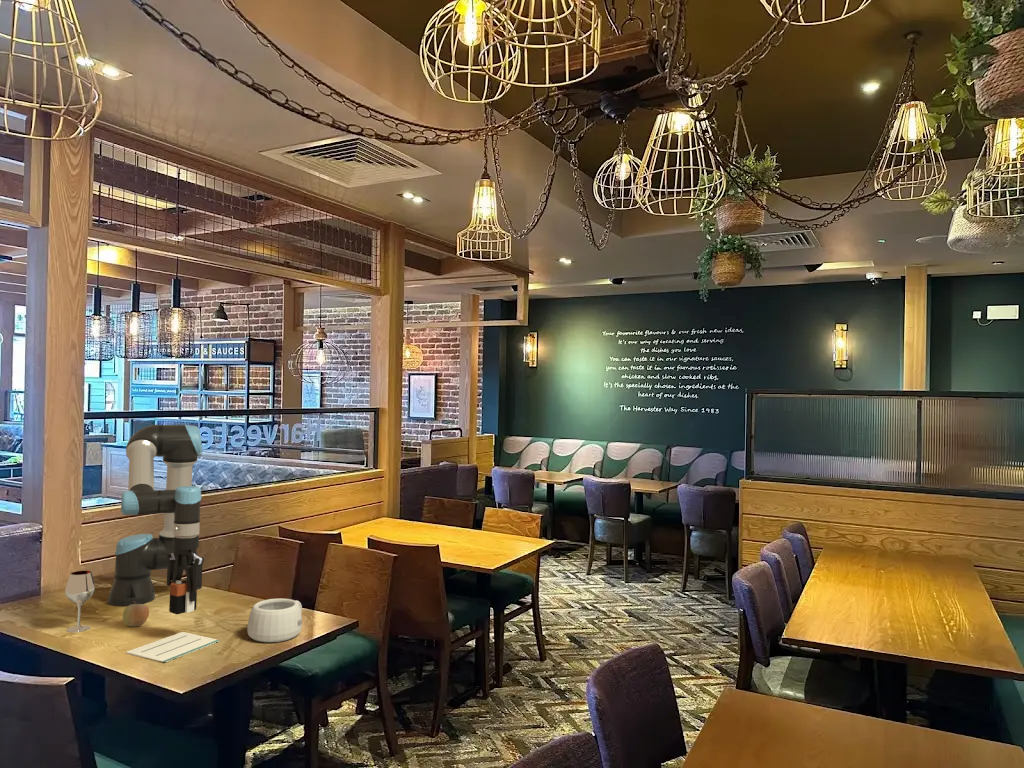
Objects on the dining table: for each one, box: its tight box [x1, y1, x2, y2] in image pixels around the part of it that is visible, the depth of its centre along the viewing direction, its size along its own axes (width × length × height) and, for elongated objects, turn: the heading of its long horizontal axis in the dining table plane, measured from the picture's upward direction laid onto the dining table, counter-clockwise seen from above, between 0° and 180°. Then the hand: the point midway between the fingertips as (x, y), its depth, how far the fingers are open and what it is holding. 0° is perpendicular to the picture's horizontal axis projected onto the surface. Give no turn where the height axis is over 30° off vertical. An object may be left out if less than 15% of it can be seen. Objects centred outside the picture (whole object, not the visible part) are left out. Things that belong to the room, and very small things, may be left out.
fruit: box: [122, 601, 150, 627], centre depth 225 cm, size 8×7×8 cm
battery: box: [168, 578, 198, 615], centre depth 216 cm, size 4×7×10 cm, turn 146°
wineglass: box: [64, 570, 96, 633], centre depth 220 cm, size 8×8×18 cm
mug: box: [246, 598, 303, 643], centre depth 223 cm, size 21×17×10 cm
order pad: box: [125, 631, 221, 663], centre depth 207 cm, size 20×16×1 cm
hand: (182, 610), depth 216 cm, fingers closed on battery, 5 cm apart
